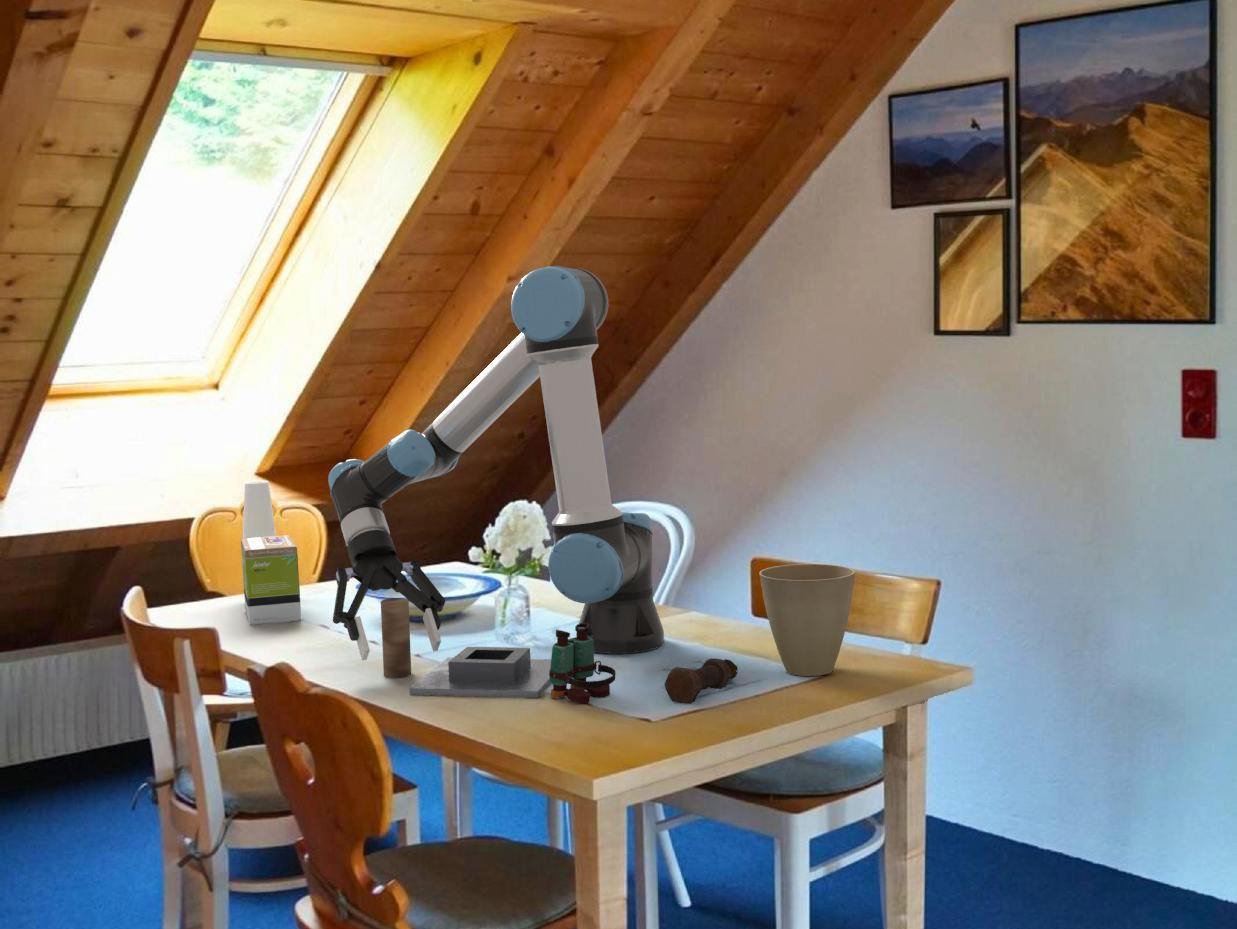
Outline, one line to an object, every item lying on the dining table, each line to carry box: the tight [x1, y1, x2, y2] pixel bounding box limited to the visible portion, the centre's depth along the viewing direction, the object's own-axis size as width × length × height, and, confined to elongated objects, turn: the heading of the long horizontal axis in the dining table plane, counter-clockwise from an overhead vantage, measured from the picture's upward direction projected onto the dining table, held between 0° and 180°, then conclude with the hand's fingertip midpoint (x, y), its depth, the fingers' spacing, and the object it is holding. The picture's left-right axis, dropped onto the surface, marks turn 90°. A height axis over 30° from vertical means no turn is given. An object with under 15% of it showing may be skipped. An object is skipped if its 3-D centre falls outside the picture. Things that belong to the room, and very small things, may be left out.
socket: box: [408, 646, 552, 699], centre depth 232 cm, size 20×20×4 cm
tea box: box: [240, 534, 302, 626], centre depth 285 cm, size 15×10×15 cm
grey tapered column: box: [242, 480, 277, 539], centre depth 304 cm, size 7×7×24 cm
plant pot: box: [759, 563, 856, 677], centre depth 232 cm, size 15×15×16 cm
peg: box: [380, 597, 412, 679], centre depth 236 cm, size 4×4×12 cm
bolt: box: [664, 658, 739, 705], centre depth 222 cm, size 6×5×15 cm
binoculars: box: [549, 623, 616, 705], centre depth 220 cm, size 9×11×10 cm
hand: (402, 650), depth 234 cm, fingers open, 11 cm apart
